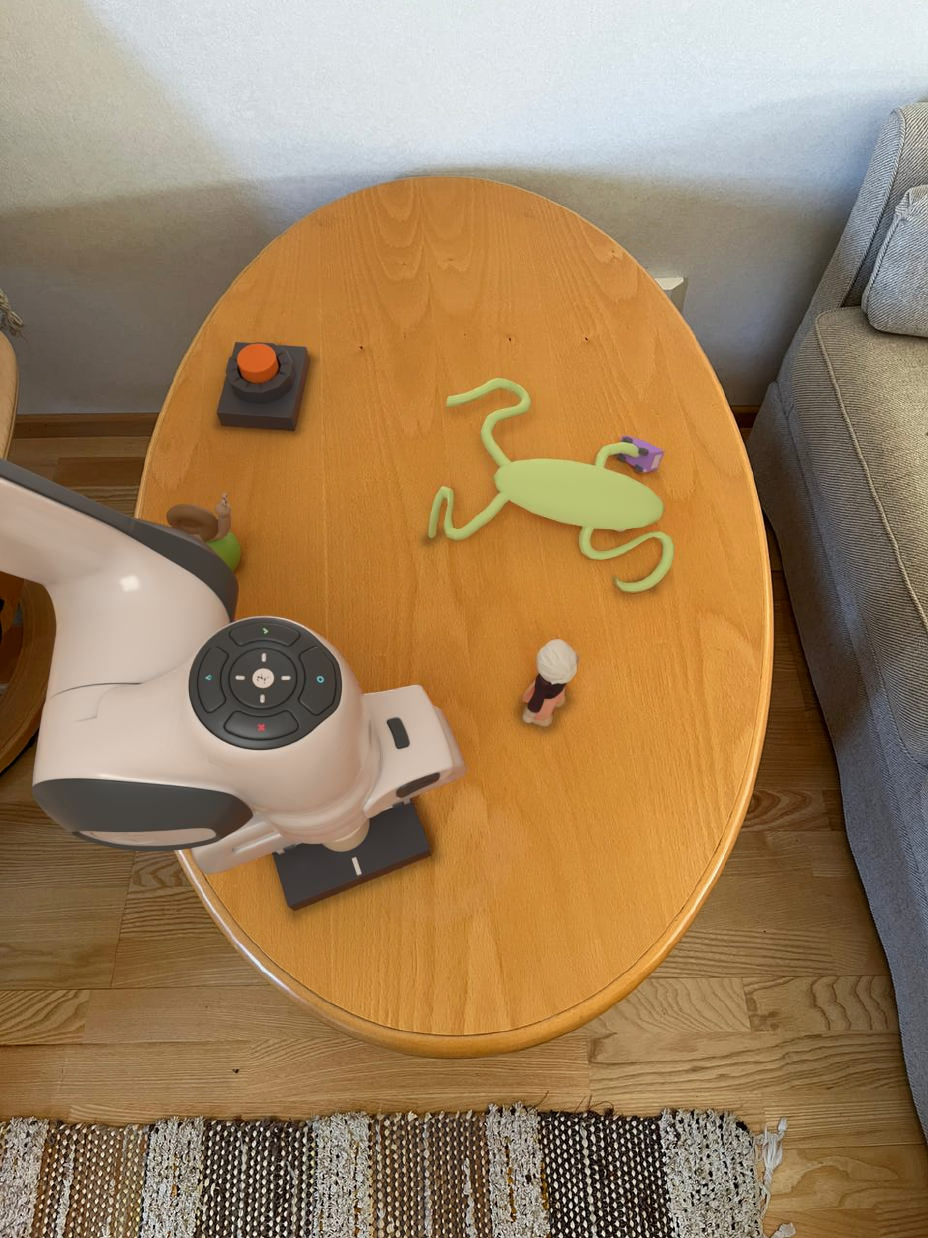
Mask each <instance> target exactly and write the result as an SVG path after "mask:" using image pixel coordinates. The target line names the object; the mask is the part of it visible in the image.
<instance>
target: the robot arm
mask: <svg viewBox="0 0 928 1238" xmlns="http://www.w3.org/2000/svg"><path fill="white" fill-rule="evenodd" d="M0 572H1V573H2V572H3V573H4V574H5V573H6V574H8V575H12V576H15V577H18V578H21V579H24V580H27V581H31V582H33V583H37V584H39V585H42V586H43V587H44V589H45V590H46V591H47V593H48V595H49V596H50V599H51V603H52V605H53V610H54V614H55V624H56V627H55V628H56V629H55V638H54V645H53V651H52V657H51V664H50V670H49V676H48V682H47V689H46V695H45V701H44V704H43V707H42V711H41V717H40V724H39V731H38V737H37V744H36V751H35V758H34V766H33V773H32V784H31V786H32V787H31V788H30V793H31V794H32V796H33V798H34V800H35V802H36V803H37V805H38V806H39V807H40V809H42V811H44V813H45V815H47V816H48V817H49V818H50V819H52V821H54V822H55V823H56V824H58V825H59V826H60V827H61V828H63V829H64V830H65V831H67V832H68V833H69V834H71V835H73V836H74V837H76V838H78V839H80V840H83V841H86V842H89V843H93V844H96V845H99V846H103V847H108V848H111V849H118V850H123V851H130V852H131V851H132V852H172V851H181V850H189V849H190V852H191V853H190V854H191V856H192V861H193V862H194V864H195V865H196V867H197V869H199V871H200V872H202V874H204V875H216V874H222V873H225V872H228V871H231V870H233V869H235V868H237V867H240V866H242V865H245V864H248V863H250V862H253V861H256V860H258V859H260V858H263V857H265V856H268V855H270V854H272V853H273V852H277V853H278V854H282V853H284V852H287V851H289V850H292V849H294V848H297V844H296V843H298V842H300V843H307V844H321V843H327V842H332V841H335V840H338V839H340V838H343V837H345V836H347V835H349V834H350V833H352V832H353V831H355V830H356V829H358V828H359V827H360V826H361V825H362V824H363V823H364V822H365V821H366V820H367V819H368V818H371V817H374V816H376V815H377V814H379V813H380V812H382V811H383V810H384V809H386V808H387V807H390V806H392V807H393V809H395V808H398V807H400V806H403V805H406V804H408V803H410V798H412V799H413V798H415V797H418V796H420V795H423V794H426V793H428V792H430V791H433V790H436V789H438V788H441V787H443V786H446V785H448V784H451V783H454V782H456V781H458V780H460V779H462V778H463V777H464V776H465V775H467V773H468V766H467V764H466V760H465V758H464V756H463V753H462V750H461V748H460V745H459V743H458V740H457V738H456V736H455V733H454V732H453V729H452V727H451V725H450V724H451V723H450V722H449V720H448V719H447V716H446V715H445V713H444V711H443V710H442V709H441V708H440V707H439V706H437V705H434V704H433V703H432V700H431V699H430V697H429V696H428V694H427V691H425V688H424V686H422V685H420V684H410V685H406V686H401V687H396V688H392V689H386V690H380V691H375V692H366V693H363V690H362V688H361V685H360V683H359V681H358V679H357V677H356V676H355V673H354V672H353V670H352V668H351V666H350V664H349V663H348V661H347V660H346V659H345V657H344V655H343V654H342V653H341V652H340V651H339V649H338V648H337V647H336V646H335V645H334V644H332V643H331V642H330V641H329V640H327V639H326V638H325V637H324V636H323V635H321V634H319V633H318V632H316V631H315V630H314V629H312V628H310V627H308V626H306V625H304V624H302V623H300V622H297V621H295V620H293V619H290V618H286V617H281V616H274V615H256V616H255V615H254V616H250V617H244V618H241V619H238V620H236V619H235V618H236V611H237V605H238V601H239V600H238V599H239V594H240V593H239V591H240V588H239V586H240V585H239V582H238V579H237V577H236V575H235V573H234V571H233V572H232V570H231V569H230V568H229V566H228V565H227V564H226V563H225V562H224V561H223V559H222V558H221V557H220V556H219V555H218V554H217V553H216V552H215V551H214V550H213V549H212V548H211V547H209V546H208V545H207V544H206V543H204V542H203V541H201V540H200V539H198V538H197V537H195V536H193V535H191V534H189V533H187V532H184V531H181V530H179V529H176V528H173V527H171V526H170V525H169V526H168V525H165V524H161V523H158V522H153V521H150V520H145V519H141V518H137V517H134V516H131V515H127V514H125V513H122V512H120V511H118V510H116V509H114V508H111V507H109V506H106V505H105V504H103V503H100V502H98V501H96V500H94V499H91V498H90V497H87V496H85V495H82V494H80V493H79V492H76V491H74V490H73V489H72V490H71V489H69V488H67V487H66V486H63V485H60V484H59V483H56V482H55V481H52V480H49V478H45V477H44V476H41V475H39V474H37V473H34V472H32V471H30V470H28V469H25V468H24V467H21V466H19V465H17V464H14V463H13V462H11V461H9V460H6V459H4V458H2V457H0Z"/></svg>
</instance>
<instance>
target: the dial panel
mask: <svg viewBox="0 0 928 1238" xmlns="http://www.w3.org/2000/svg"><path fill="white" fill-rule="evenodd" d="M296 844H297V848H294V849H292V850H289V851H287V852H284V853H282V854H278V853H277V852H273V853H271V854H272V858H273V860H274V861H273V862H274V864H275V868H276V871H277V874H278V877H279V881H280V885H281V888H282V891H283V895H284V898H285V901H286V905H287V907H288V908H289V909H291V910H292V911H293V912H297V911H298V910H302V909H303V908H306V907H309V906H311V905H314V904H316V903H318V902H321V901H324V900H326V899H328V898H330V897H333V896H336V895H338V894H341V893H343V892H347V891H349V890H351V889H354V888H356V887H358V886H361V885H363V884H366V883H368V882H370V881H373V880H375V879H378V878H380V877H383V876H385V875H387V874H389V873H392V872H395V871H398V870H400V869H403V868H404V867H407V866H409V865H412V864H414V863H417V862H419V861H423V860H425V859H427V858H429V857H431V856H432V849H431V846H430V843H429V840H428V838H427V835H426V832H425V830H424V826H423V825H422V822H421V819H420V816H419V814H418V811H417V808H416V806H415V803H414V801H413V798H410V803H408V804H406V805H403V806H400V807H398V808H395V809H393V807H392V806H390V807H387V808H386V809H384V810H383V811H382V812H380V813H379V814H377V815H376V816H374V817H371V818H369V830H368V833H367V835H366V837H365V839H364V840H363V841H362V842H361V843H360V844H359V845H358V846H357V847H355V848H353V849H351V850H348V851H342V852H340V851H333V850H331V849H329V848H327V847H326V846H324V845H323V844H322V843H321V844H307V843H300V842H298V843H296Z"/></svg>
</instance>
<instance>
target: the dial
mask: <svg viewBox="0 0 928 1238" xmlns="http://www.w3.org/2000/svg"><path fill="white" fill-rule="evenodd" d="M368 830H369V818H368V819H367V820H366V821H365V822H364V823H363V824H362V825H361V826H360V827H359V828H358V829H356V830H355V831H353V832H352V833H350V834H349V835H347V836H345V837H343V838H340V839H338V840H335V841H332V842H327V843H322V844H323V845H324V846H326V847H327V848H329V849H331V850H333V851H340V852H342V851H348V850H351V849H353V848H355V847H357V846H358V845H359V844H360V843H361V842H362V841H363V840H364V839H365V837H366V835H367V833H368Z"/></svg>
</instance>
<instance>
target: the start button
mask: <svg viewBox="0 0 928 1238" xmlns="http://www.w3.org/2000/svg"><path fill="white" fill-rule="evenodd" d="M237 362H238V366H239V369H240V372H241V375H242V376H243V378H244V379H245V380H247V381H249V382H251V383H258V384H259V383H264V382H267V381H270V380H271V379H273V378H274V377H275V376H276V374H277V372H278V363H277V359H276V355H275V352H274V350H273V349H272V348H271V347H269V346H267V345H265V344H251V345H248V346H246V347H245V348H243V349H242V350H241V351H240V352H239V354H238V357H237Z"/></svg>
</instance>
